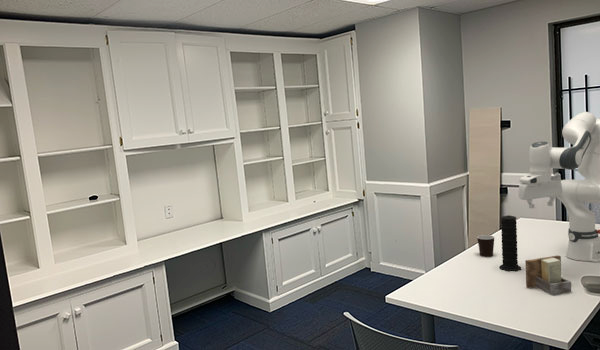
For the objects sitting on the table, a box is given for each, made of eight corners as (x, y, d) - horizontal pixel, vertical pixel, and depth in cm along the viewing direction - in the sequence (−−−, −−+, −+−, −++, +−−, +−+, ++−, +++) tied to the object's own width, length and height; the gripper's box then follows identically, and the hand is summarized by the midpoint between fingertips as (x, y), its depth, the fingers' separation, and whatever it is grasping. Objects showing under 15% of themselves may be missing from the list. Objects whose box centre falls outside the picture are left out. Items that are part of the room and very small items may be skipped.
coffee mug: (492, 258, 240) (491, 240, 239) (475, 256, 246) (475, 238, 244) (498, 252, 249) (497, 234, 248) (482, 250, 255) (481, 233, 253)
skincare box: (554, 284, 199) (553, 257, 197) (561, 287, 195) (561, 260, 193) (541, 286, 198) (540, 259, 196) (548, 290, 193) (547, 262, 192)
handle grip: (501, 271, 221) (524, 271, 219) (499, 218, 217) (522, 217, 215) (497, 264, 231) (518, 264, 228) (495, 213, 227) (516, 212, 225)
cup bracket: (558, 281, 203) (558, 255, 202) (578, 290, 192) (578, 263, 191) (526, 286, 201) (525, 260, 199) (544, 296, 190) (543, 268, 188)
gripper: (555, 174, 215) (556, 203, 217) (516, 179, 212) (517, 208, 214) (565, 175, 209) (566, 205, 211) (525, 180, 206) (525, 210, 208)
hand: (541, 207), depth 212 cm, fingers open, 8 cm apart
